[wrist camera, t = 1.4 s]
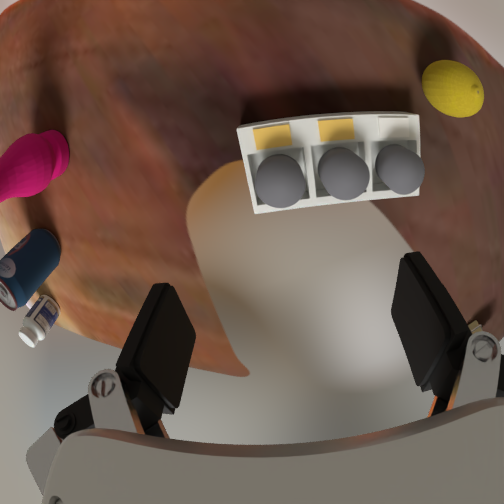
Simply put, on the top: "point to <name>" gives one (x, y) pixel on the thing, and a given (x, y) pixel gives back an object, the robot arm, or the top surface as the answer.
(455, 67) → the lemon
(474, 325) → the stacked layers on plate
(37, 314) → the pill bottle
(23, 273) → the soda can
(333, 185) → the middle button
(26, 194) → the pepper mill
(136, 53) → the top surface
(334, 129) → the button board
